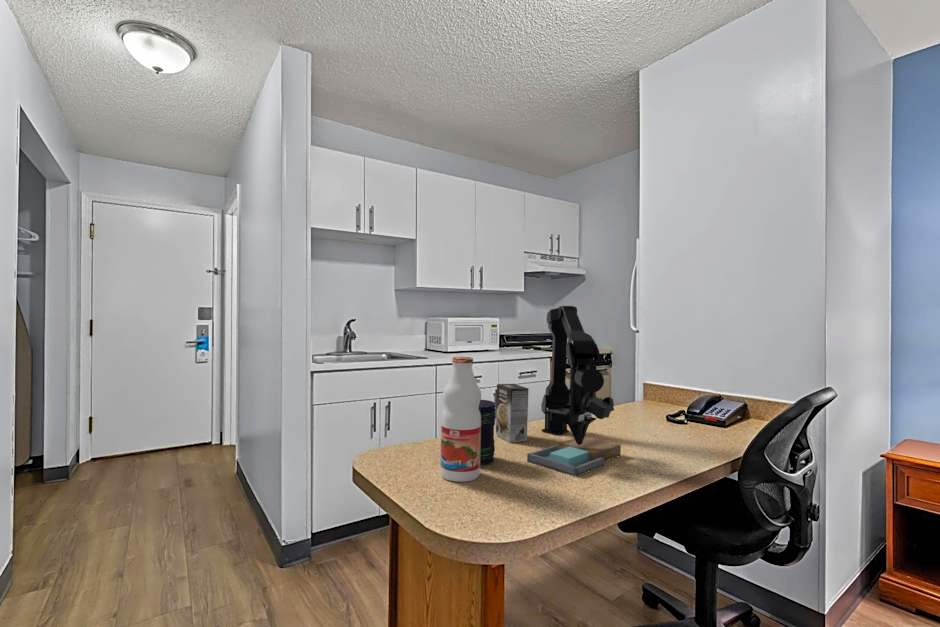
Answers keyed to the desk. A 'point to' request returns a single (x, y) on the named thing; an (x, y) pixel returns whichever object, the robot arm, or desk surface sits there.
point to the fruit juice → (461, 424)
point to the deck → (595, 448)
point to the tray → (544, 460)
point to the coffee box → (512, 412)
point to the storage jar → (487, 431)
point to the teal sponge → (569, 456)
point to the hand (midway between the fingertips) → (579, 444)
